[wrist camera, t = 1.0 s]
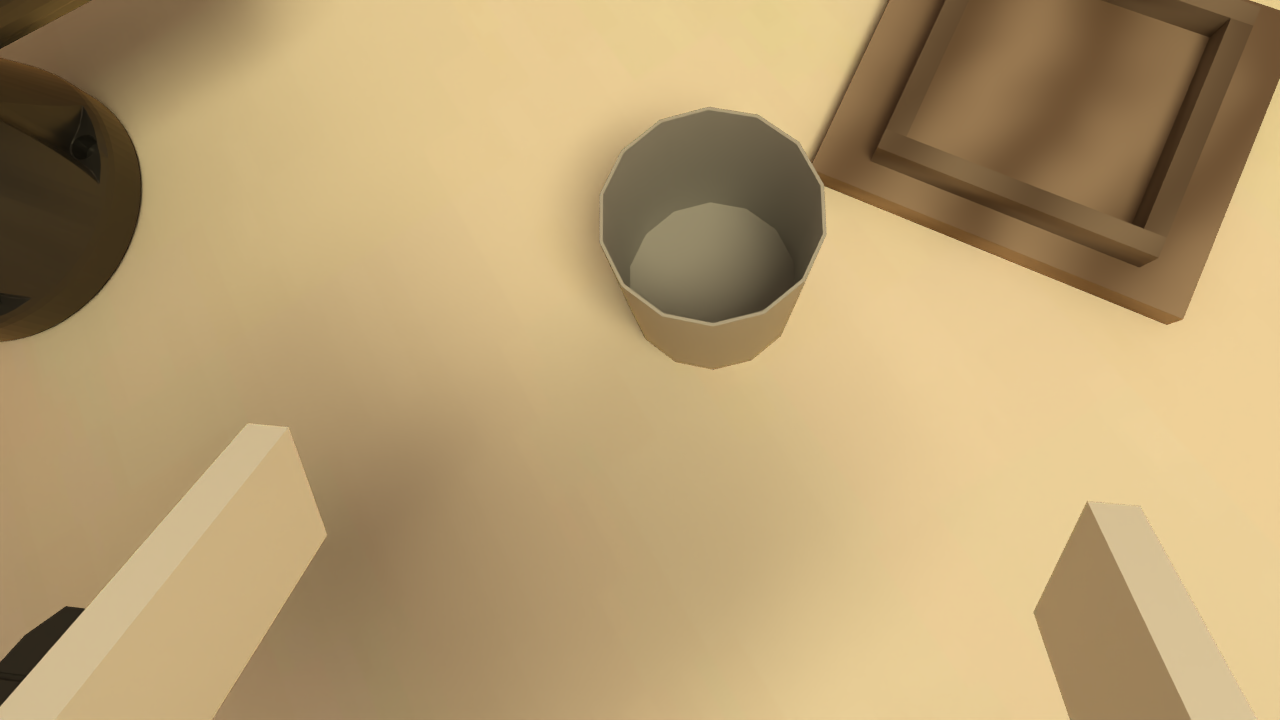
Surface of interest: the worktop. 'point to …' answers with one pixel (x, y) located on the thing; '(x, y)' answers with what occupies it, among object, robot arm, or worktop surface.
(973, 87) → the brown wooden tray
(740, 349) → the cup
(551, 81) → the worktop surface
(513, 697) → the worktop surface
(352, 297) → the worktop surface
